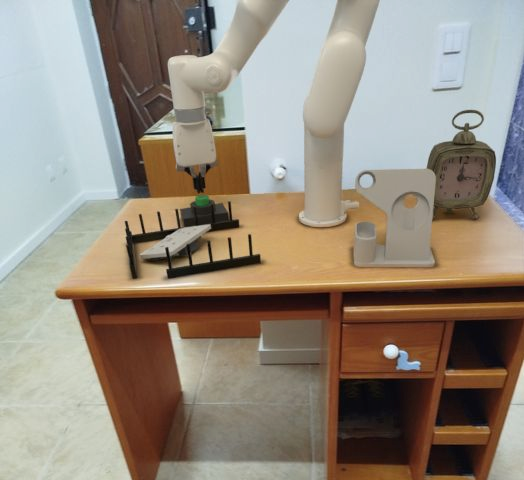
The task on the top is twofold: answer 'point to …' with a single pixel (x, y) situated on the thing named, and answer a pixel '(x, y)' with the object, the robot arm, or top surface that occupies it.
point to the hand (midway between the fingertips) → (200, 191)
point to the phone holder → (397, 219)
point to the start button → (202, 200)
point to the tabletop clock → (462, 170)
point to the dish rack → (190, 268)
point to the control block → (203, 214)
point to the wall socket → (176, 243)
